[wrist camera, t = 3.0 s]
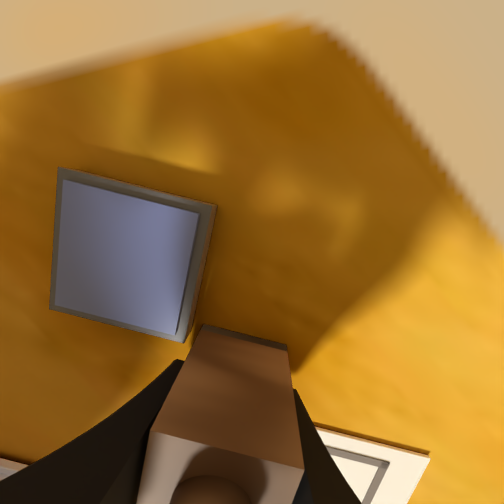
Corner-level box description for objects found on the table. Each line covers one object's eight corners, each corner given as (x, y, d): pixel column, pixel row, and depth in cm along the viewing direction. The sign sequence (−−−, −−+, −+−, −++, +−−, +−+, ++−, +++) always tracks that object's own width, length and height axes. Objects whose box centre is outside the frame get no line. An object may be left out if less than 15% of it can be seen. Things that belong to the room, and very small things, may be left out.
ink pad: (68, 299, 11) (44, 311, 10) (78, 170, 10) (53, 165, 9) (190, 331, 11) (182, 346, 10) (217, 205, 10) (211, 205, 9)
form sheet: (204, 518, 14) (203, 523, 14) (235, 406, 12) (235, 409, 12) (372, 561, 14) (374, 566, 14) (428, 455, 12) (431, 460, 12)
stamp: (187, 393, 12) (107, 595, 6) (203, 323, 11) (127, 475, 5) (264, 413, 12) (264, 635, 6) (286, 344, 11) (312, 522, 5)
